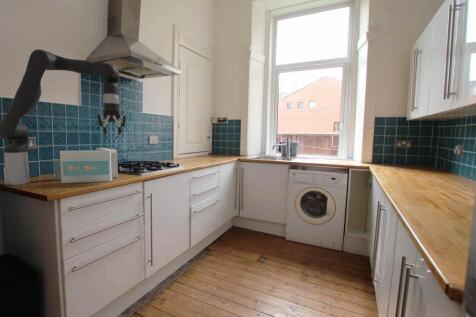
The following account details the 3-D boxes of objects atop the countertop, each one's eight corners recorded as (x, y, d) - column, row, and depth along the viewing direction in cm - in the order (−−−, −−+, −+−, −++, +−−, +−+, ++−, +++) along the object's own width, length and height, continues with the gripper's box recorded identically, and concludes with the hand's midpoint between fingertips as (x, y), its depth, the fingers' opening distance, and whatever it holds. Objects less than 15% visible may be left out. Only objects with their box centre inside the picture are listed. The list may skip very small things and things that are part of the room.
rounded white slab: (121, 177, 155) (120, 149, 153) (108, 179, 149) (107, 150, 148) (108, 172, 175) (107, 147, 173) (96, 173, 170) (95, 147, 168)
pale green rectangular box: (55, 185, 127) (53, 152, 125) (64, 181, 139) (62, 150, 137) (108, 183, 135) (106, 151, 133) (112, 179, 147) (111, 150, 145)
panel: (63, 176, 129) (62, 161, 128) (64, 175, 130) (63, 161, 129) (109, 174, 135) (108, 160, 135) (109, 174, 137) (109, 160, 136)
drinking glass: (75, 177, 153) (74, 158, 152) (74, 179, 145) (73, 160, 144) (55, 178, 148) (54, 159, 147) (53, 181, 140) (52, 160, 138)
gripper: (94, 101, 124) (96, 134, 126) (125, 103, 129) (126, 134, 130) (98, 103, 131) (99, 134, 133) (126, 104, 136) (127, 134, 137)
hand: (112, 134), depth 132 cm, fingers open, 6 cm apart
